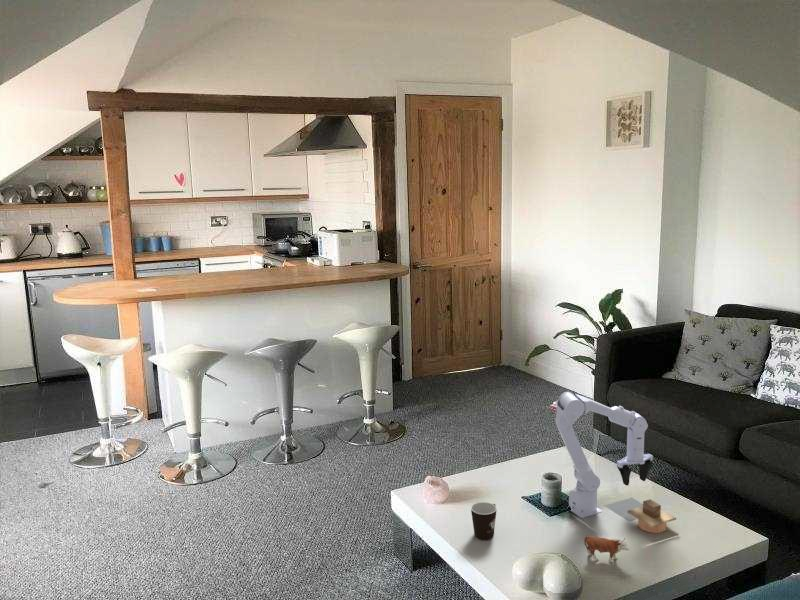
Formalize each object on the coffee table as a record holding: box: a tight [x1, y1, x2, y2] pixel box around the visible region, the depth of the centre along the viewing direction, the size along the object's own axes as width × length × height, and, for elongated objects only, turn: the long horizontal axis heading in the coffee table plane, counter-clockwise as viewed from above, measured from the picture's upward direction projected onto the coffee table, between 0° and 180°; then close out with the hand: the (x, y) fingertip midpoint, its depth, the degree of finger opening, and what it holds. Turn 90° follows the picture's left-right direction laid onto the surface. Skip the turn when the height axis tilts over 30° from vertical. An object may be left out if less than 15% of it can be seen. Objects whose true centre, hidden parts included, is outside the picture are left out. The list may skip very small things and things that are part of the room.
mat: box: [603, 497, 643, 522], centre depth 242 cm, size 13×13×1 cm
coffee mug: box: [470, 501, 498, 541], centre depth 228 cm, size 12×9×10 cm
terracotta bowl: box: [637, 519, 668, 534], centre depth 229 cm, size 9×9×4 cm
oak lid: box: [627, 499, 677, 527], centre depth 229 cm, size 11×11×5 cm
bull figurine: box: [583, 535, 630, 564], centre depth 211 cm, size 4×13×8 cm, turn 66°
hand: (634, 482), depth 242 cm, fingers open, 7 cm apart
